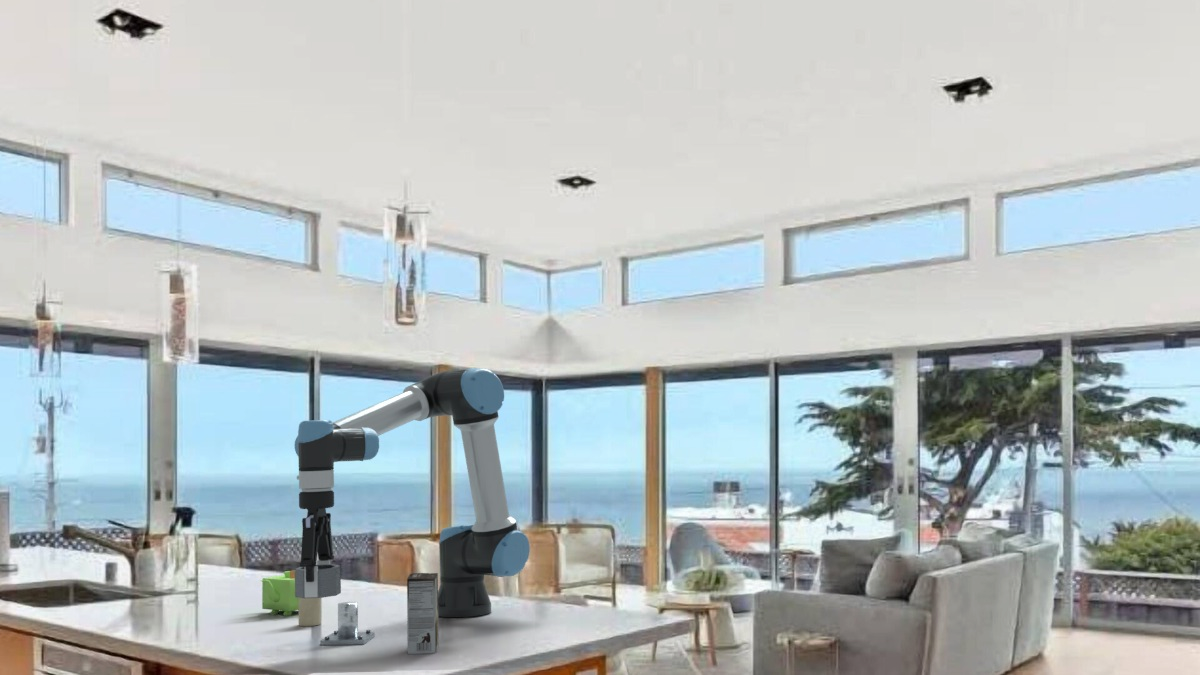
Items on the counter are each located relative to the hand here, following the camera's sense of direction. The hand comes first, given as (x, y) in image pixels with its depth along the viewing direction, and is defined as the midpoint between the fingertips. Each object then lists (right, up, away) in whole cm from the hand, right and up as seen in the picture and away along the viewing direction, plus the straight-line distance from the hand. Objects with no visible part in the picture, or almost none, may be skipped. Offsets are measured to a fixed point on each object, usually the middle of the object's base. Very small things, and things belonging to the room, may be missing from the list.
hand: (317, 593), depth 237 cm
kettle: (-23, -19, +58) cm, 65 cm away
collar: (0, 0, 0) cm, 0 cm away
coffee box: (+23, -13, 0) cm, 26 cm away
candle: (-12, -17, +38) cm, 43 cm away
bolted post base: (+3, -14, +13) cm, 20 cm away
